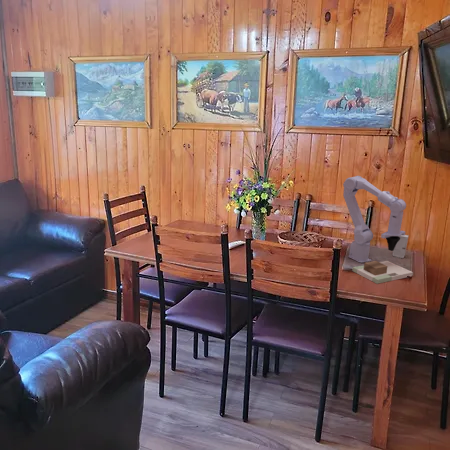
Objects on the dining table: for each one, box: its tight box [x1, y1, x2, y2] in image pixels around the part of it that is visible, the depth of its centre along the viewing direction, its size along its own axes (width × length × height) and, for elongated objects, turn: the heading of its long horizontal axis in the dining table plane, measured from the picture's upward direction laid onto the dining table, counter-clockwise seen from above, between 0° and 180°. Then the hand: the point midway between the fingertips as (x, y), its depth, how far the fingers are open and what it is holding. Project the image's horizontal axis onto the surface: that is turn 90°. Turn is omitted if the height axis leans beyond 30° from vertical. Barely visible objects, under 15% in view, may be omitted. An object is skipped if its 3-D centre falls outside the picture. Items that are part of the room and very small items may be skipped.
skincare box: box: [392, 234, 410, 259], centre depth 237 cm, size 6×4×12 cm
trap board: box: [352, 260, 414, 285], centre depth 214 cm, size 16×24×2 cm
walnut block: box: [363, 260, 388, 275], centre depth 211 cm, size 8×8×4 cm
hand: (390, 250), depth 219 cm, fingers closed
